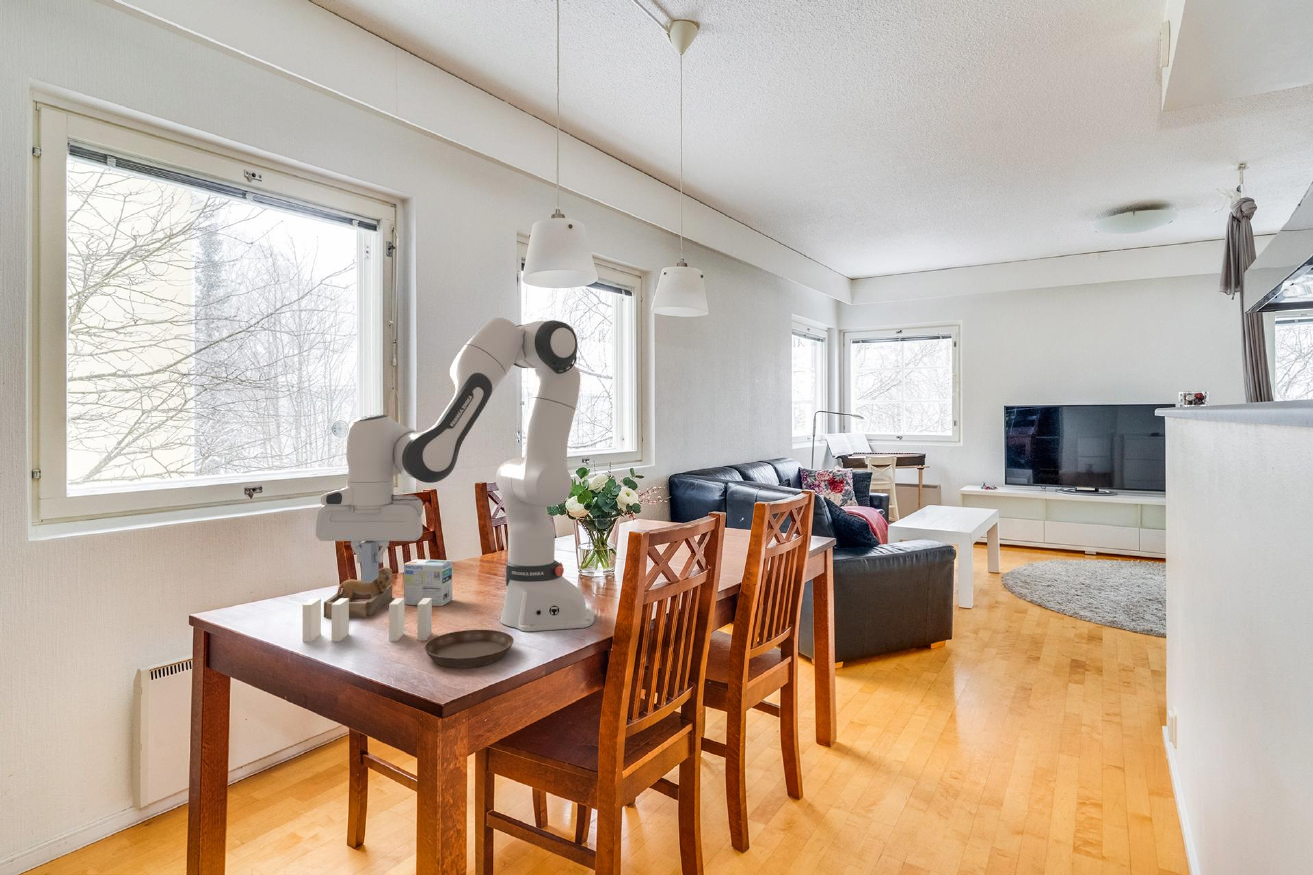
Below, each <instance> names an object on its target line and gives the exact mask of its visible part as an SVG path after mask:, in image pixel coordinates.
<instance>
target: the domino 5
mask: <svg viewBox="0 0 1313 875" xmlns="http://www.w3.org/2000/svg"><path fill="white" fill-rule="evenodd" d="M432 610H433V606H432V598H423V599H422V600H421V601H420V602H419V603H418V605H417V628H416V630H417V633H416V634H417V636H416V637H417V638H416V640H417V641H418V642H419V641H424V642H425V641H427V640H428V639H429V637H430V636H431V635H432V630H433V629H432V627H433V626H432V624H433V623H432V621H433V618H432V616H433V613H432V612H433V611H432Z"/></svg>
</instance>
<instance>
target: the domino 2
mask: <svg viewBox="0 0 1313 875" xmlns="http://www.w3.org/2000/svg"><path fill="white" fill-rule="evenodd" d="M349 624H350V618H349V598H340V599H339V600H337V601H336V602H335V603H333V604H332V618H331V642H341V641H342V640H344V639H345V638H346V637H347V636H348V635H349V632H350V625H349Z"/></svg>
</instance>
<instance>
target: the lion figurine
mask: <svg viewBox="0 0 1313 875" xmlns="http://www.w3.org/2000/svg"><path fill="white" fill-rule="evenodd" d="M393 578H394V575H393V569H392V568H390V567H385V566H384V567H382V568H379V577H378V578H377V579H376V580H374V581H373V582H372V583H361V579H359V580H358V579H352V578H351V579H346V580H344V581H343V582H341V584H339V587H338V589H337V593H336V594H337V596H338V598H339V594H340V592H341V590H343V591H342V593H341V594H340V598H344V597H345V596H346V598H349V602H351V600H352V599H351V596H352V594H353V592H356V593H357V594H362V595H363V594H371V598H373V597H374V596H375V595H376V594H379V593H380V592H384V591H385V590H386V589H387V587H388V586H389V585H392V582H393ZM340 598H339V599H340ZM371 598H370V599H371ZM350 599H351V600H350Z"/></svg>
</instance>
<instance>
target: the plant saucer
mask: <svg viewBox="0 0 1313 875" xmlns="http://www.w3.org/2000/svg"><path fill="white" fill-rule="evenodd" d="M514 641H515V640H514V637H513V636H512V635H510V634H509V633H507V632H503V631H500V630H493V629H467V630H458V631H452V632H448V633H444V634H441V635H438V636H435V637H433V638H431V639H429V640H428V641H427V642H426V643H425V644H424V647H423V649H424V651H425V653H426V655H427V656H428V657H429V658H430V659H431V660H432V661H433V662H434V663H436V664H438V665H439V666H442V667H447V668H453V669H454V668H455V669H457V668H458V669H467V668H475V667H476V668H477V667H482V666H486V665H490V664H493V663H496V662H497V661H499V660H501V659H503V657H505V655H506V654H507V653H508V652H509V651H510V649H511V648H512V645H513V644H514Z"/></svg>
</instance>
